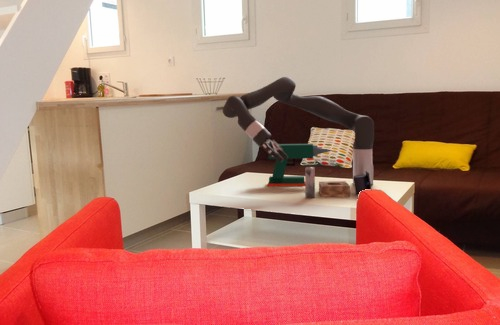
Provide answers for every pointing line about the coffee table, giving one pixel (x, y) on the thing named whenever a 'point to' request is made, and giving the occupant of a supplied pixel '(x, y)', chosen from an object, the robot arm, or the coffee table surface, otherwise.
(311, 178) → the grey upright block
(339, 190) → the block
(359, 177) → the speaker
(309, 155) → the power tool
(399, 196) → the coffee table surface
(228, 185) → the coffee table surface
